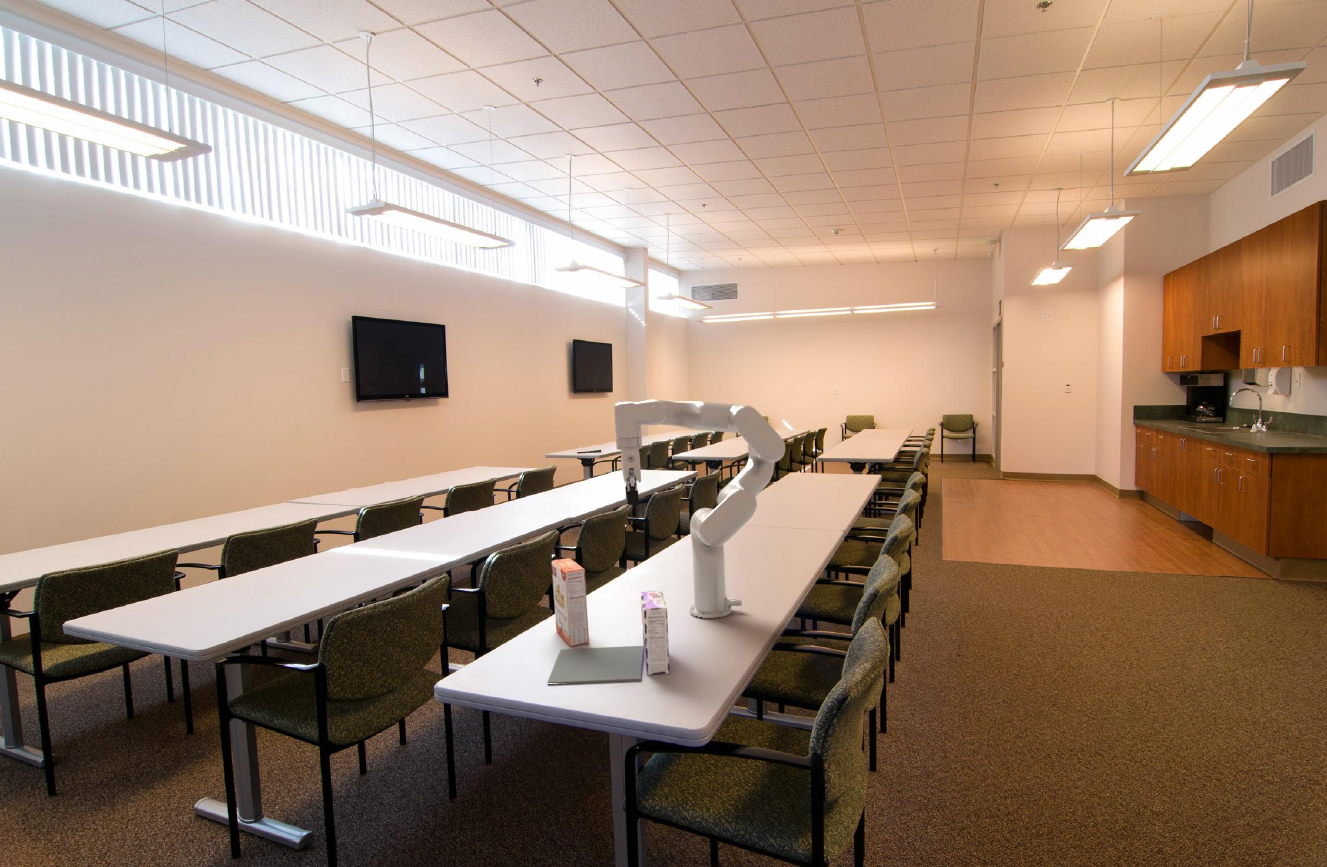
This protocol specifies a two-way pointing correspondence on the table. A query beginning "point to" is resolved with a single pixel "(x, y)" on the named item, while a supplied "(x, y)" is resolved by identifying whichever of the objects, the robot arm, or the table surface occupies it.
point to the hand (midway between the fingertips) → (632, 501)
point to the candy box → (655, 632)
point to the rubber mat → (598, 665)
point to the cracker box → (570, 601)
